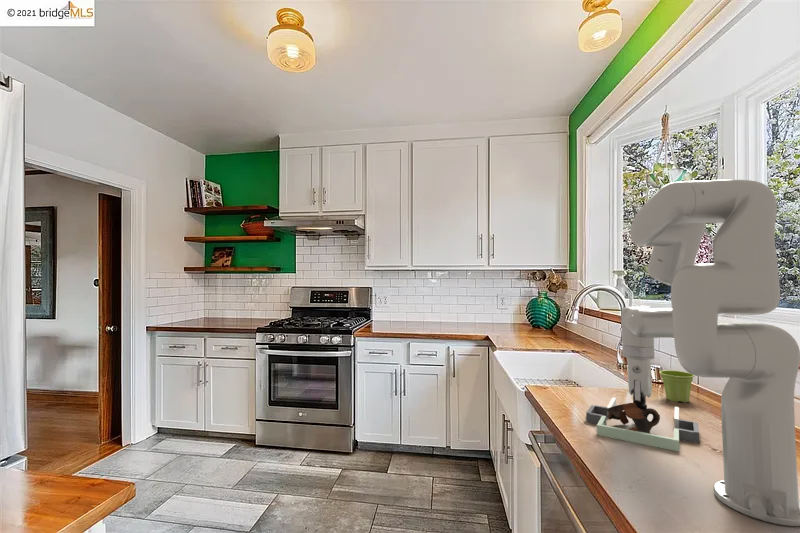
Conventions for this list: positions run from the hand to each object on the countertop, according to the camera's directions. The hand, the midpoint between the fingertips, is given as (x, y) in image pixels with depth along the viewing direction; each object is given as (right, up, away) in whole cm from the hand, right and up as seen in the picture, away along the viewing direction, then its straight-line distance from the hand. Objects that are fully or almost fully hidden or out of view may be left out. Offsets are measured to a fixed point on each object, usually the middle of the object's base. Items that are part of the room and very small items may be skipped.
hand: (640, 418), depth 105 cm
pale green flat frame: (0, -1, 0) cm, 2 cm away
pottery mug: (-5, -2, -5) cm, 7 cm away
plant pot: (+25, -2, +21) cm, 33 cm away
